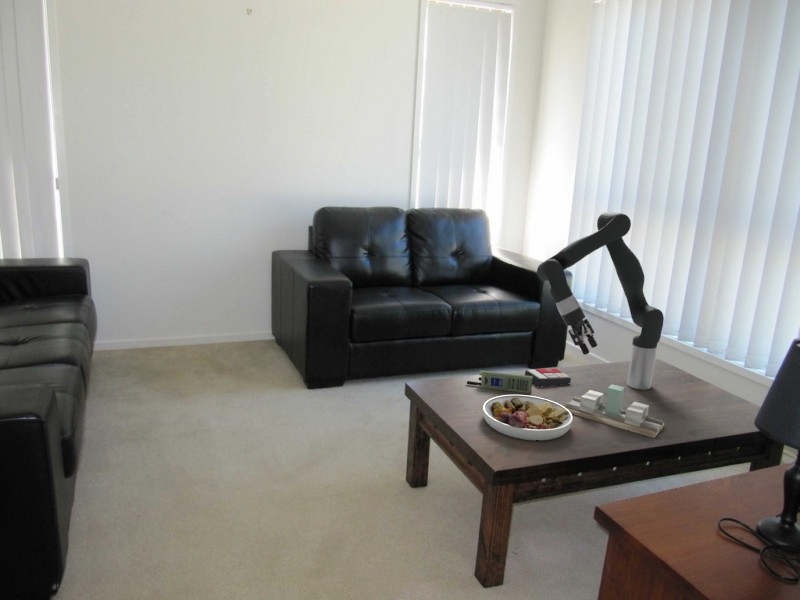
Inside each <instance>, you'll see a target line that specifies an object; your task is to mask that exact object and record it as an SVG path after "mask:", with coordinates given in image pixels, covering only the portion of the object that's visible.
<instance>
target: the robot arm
mask: <svg viewBox="0 0 800 600" xmlns="http://www.w3.org/2000/svg"><path fill="white" fill-rule="evenodd" d="M596 222H597V223H596V227H597V231H596V232H593V233H592V234H591V233H590V234H589V235H586V236H583V237H581V238H579V239H576V240H575V241H573V242H570V243H569V244H568V245H567V246H565V247H563V248H562V249H560V251H558V252H557V253H556V254H554V255H553V256H551V257H550V258H547V259H546V260H544V261H543V262H541V263H540V264H539V265H538V266H537V269H536V275H537V277H538V278H539V279H540V280H541V281H545V282H546V281H547V282H548V283H549V285H550V288H549V293H550V296H551V298H552V299H553V301H554V303H555V305H556V309H557V310H558V312H559V315H560V316H561V319H562V320H563V322H564V324H565V325H566V326H567V327H570V328H571V329H568V334H569V335H570V338H571V339H572V342H573V344H574V346H578V347H579V349H580V350H581V352H582V354H583V355H585V356H586V355H588V354H590V350H589V348H588V345H587V344H586V342H585V338H586V339H587V341H588V344H589V345H590V347H591V349H592V348H593V349H594V348H596V347H597V346H598V343H597V341H596V339H595V337H594V334H595V331H594V329H593V327H592V325H591V323H590V321H589V319H588V318H586V315H585V313H584V311H583V309H582V307H581V305H580V303H579V301H578V300H577V298H576V297H575V295H574V294H573V292H572V290H571V288H570V286H569V285H568V281H567V277H566V274H565V270H567V269H569V268H570V267H572V266H574V265H576V264H577V263H578V262H580V261H581V260H583V259H584V258H586V257H587V256H588V255H590V254H592V253H593V252H596V250H599V249H600V248H602V247H604V246H606V248H607V251H608V253H609V257H610V259H611V262H612V264H613V266H614V269H615V272H616V275H617V277H618V281H619V283H620V285H621V288H622V290H623V293H624V295H625V297H626V300H627V304H628V308H629V309H628V310H629V313H630V315H631V316H630V317H631V320H632V322H633V323H634V324H635V325H636V326H637V327H639V328H641V330H640V335H636V336H634V337H633V338H632V344H631V352H630V359H629V367H628V373H627V380H626V385H627V386H628V387H630V388H633V389H635V390H642V391H643V390H644V391H645V390H646V391H647V390H650V389H651V387H652V381H653V375H654V369H655V362H656V355H657V350H658V349H657V348H658V343H659V342H660V340H661V336H662V331H663V327H664V321H665V320H664V317H665V316H664V313H663V311H662V310H661V309H658V308H657V307H654V306H651V305H650V304H649V303H648V301H647V300H646V297H645V293H644V286H645V273H644V270H643V268H642V265H641V263H640V260H639V259H638V257H637V256H636V255H635V253H634V252H633V251H632V250H631V249H630V248H629V247H628V245H627V244H626V242H625V240H624V238H623V237H624V236H626V235H627V234H628V233H629V231H630V230H631V226H632V221H631V219H630V217H629V216H628V215H627V214H624V213H622V212H613V211H605V212H603V213H601V214H600V215H599V216H598V218H597V221H596Z"/></svg>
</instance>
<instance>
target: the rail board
mask: <svg viewBox="0 0 800 600" xmlns="http://www.w3.org/2000/svg"><path fill="white" fill-rule="evenodd" d="M603 402H604V393H603V392H599V391H595V390H591V389H590V390H589V389H588V391H587V392H585V393H584V394H583V395H581V396H580V397H576V396H573V397H572V400H570V401H569V402H565V404H564V405H565V406H564V407H565V408H566V409H568V410H569V411H570V412H571V414H572V415H573V414H574V415H575V416H577V417H580V418H584V419H588V420H591V421H595V422H598V423H601V424H605V425H608V426H612V427H615V428H619V429H622V430H625V431H628V430H629V432H631V433H632V432H633V433H636V434H640V435H642V436H643V435H644V436H646V437H649V438H654V439H655V438H656V436H657V435H658V434H659V433H660V432H661V431H662V430H663V428H664V427H665V423H664V420H661V419H657V418H654V417H649V409H650V408H649V407H650V405H648V404H645V403H641V402H638V401H633V402H632V403H631V405H628V407H626V409H625V410H624V409H622V412H621V415H620V416H619V417H618V416H614V415H611V414H607V413H605V405H606V404H603ZM574 415H573V416H574Z"/></svg>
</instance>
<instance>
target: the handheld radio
mask: <svg viewBox="0 0 800 600" xmlns="http://www.w3.org/2000/svg"><path fill="white" fill-rule="evenodd" d="M478 376H481V377H478V381H480V382H477V381H471V380H470V381H469V380H467V381H466V385H472V386H480V388H481V389H490V390H500V391H504V392H505V391H506V392H507V391H508V392H515V393H524V394H532V387H533V384H532V379H533V376H525V374H515V373H514V374H513V373H505V372H496V371H487V370H479V375H478Z"/></svg>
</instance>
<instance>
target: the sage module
mask: <svg viewBox="0 0 800 600" xmlns="http://www.w3.org/2000/svg"><path fill="white" fill-rule="evenodd" d="M624 396H625V386H620V385H618V384H617V385H616V384H613V383H612V384H610V385H609V386H608V387H607V392H606V398H605V399H606V400H605V404H604V405H605V413H607V414H611V415H614V416H618V417H619V416H620V415H621V412H622V410H623V403H624Z"/></svg>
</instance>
